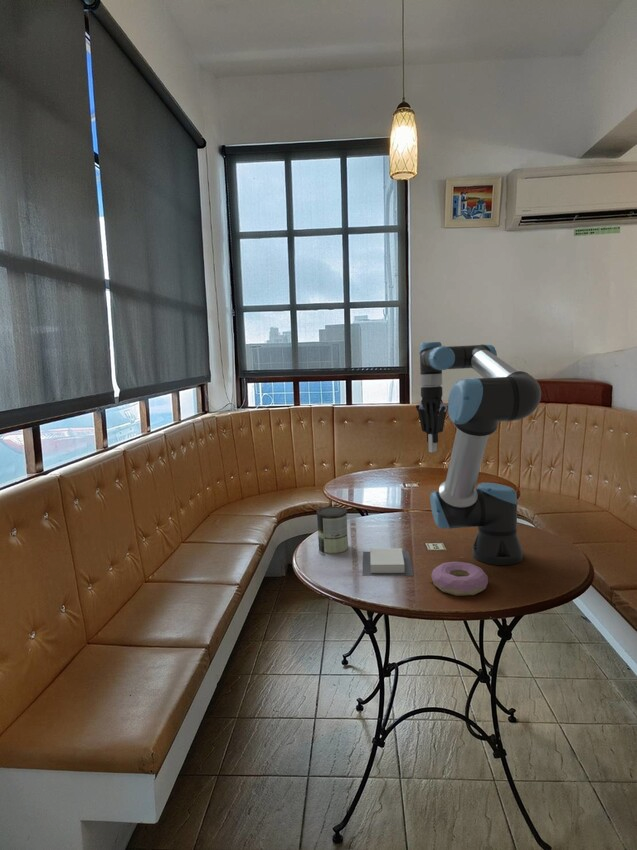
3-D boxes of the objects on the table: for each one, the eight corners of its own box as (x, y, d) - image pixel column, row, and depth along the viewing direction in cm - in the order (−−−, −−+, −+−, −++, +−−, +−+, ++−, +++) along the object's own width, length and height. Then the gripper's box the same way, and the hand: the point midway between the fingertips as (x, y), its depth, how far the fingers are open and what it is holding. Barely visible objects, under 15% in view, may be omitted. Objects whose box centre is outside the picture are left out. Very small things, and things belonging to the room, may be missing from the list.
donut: (456, 570, 153) (456, 554, 152) (499, 588, 140) (499, 570, 139) (420, 585, 144) (419, 568, 143) (462, 604, 131) (462, 586, 131)
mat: (408, 553, 167) (408, 551, 167) (413, 577, 148) (413, 575, 148) (363, 553, 169) (363, 551, 169) (362, 578, 150) (362, 575, 150)
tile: (401, 548, 162) (404, 564, 150) (401, 556, 163) (404, 573, 150) (370, 548, 163) (370, 564, 151) (370, 556, 164) (370, 573, 151)
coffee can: (312, 552, 172) (310, 512, 171) (330, 543, 180) (329, 504, 178) (336, 558, 166) (334, 517, 164) (354, 548, 174) (352, 509, 172)
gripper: (453, 385, 176) (454, 452, 179) (423, 385, 186) (424, 448, 189) (439, 386, 171) (441, 455, 174) (410, 386, 181) (411, 451, 184)
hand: (432, 451), depth 182 cm, fingers closed
